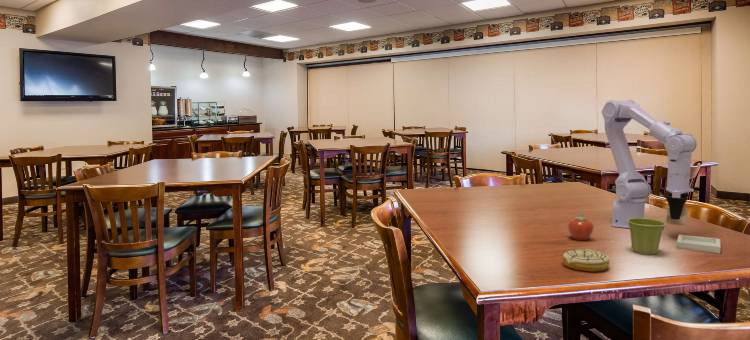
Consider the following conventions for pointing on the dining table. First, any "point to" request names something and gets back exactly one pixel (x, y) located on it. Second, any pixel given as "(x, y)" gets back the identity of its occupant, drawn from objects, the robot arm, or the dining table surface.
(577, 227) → the tomato
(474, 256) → the dining table surface
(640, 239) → the plant pot
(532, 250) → the dining table surface
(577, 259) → the decorated donut
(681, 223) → the maple block
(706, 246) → the tray
